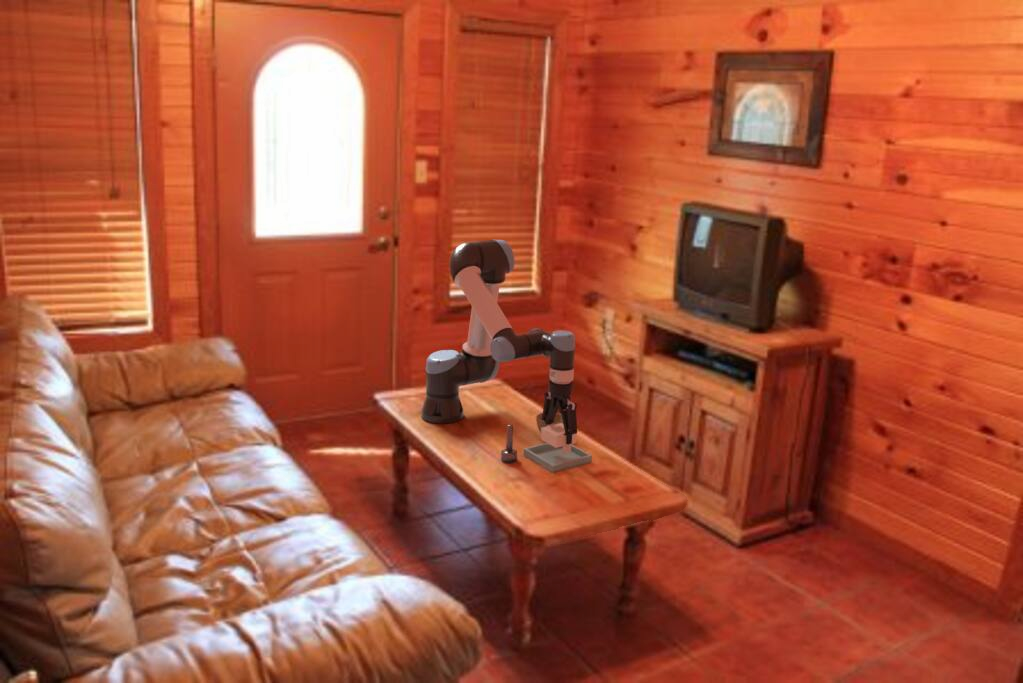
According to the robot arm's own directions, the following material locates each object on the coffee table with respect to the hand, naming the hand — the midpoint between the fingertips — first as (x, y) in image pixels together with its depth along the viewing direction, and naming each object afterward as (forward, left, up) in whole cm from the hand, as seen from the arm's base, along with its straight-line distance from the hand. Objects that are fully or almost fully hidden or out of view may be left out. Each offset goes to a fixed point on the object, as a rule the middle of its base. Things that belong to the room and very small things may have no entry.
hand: (558, 447), depth 278 cm
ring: (0, 0, +2) cm, 2 cm away
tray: (0, 0, -4) cm, 4 cm away
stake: (-7, -14, -4) cm, 16 cm away
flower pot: (-16, +9, -4) cm, 19 cm away
